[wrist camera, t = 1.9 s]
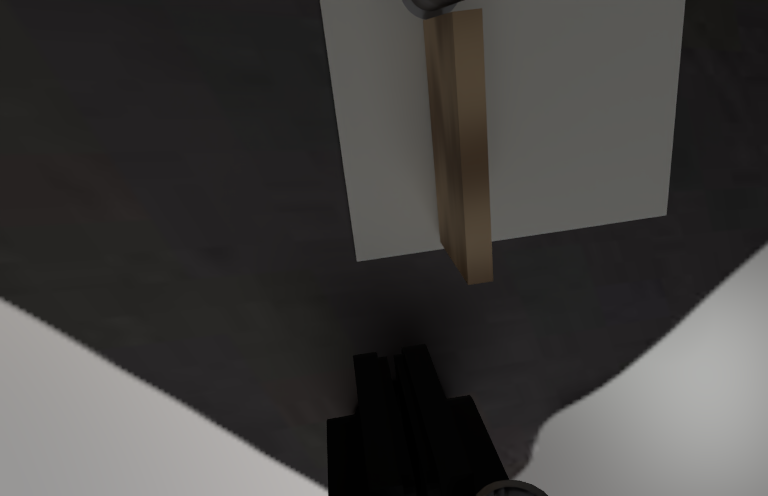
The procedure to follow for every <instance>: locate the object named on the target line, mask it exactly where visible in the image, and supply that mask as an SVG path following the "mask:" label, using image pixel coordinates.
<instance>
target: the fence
mask: <svg viewBox="0 0 768 496" xmlns="http://www.w3.org/2000/svg"><path fill="white" fill-rule="evenodd" d="M461 1H464V0H412V2H413V3H414V4H415V5H416V6H417V7H418V8H420V9H422V10H426V11H435V10H438V9H441V8H444V7H447V6H450V5H452V4H455V3H458V2H461Z"/></svg>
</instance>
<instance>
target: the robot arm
mask: <svg viewBox="0 0 768 496" xmlns="http://www.w3.org/2000/svg"><path fill="white" fill-rule="evenodd" d="M353 359H354V367H355V376H356V385H357V393H358V402H359V410H360V414H356V415H350V416H344V417H338V418H333V419H327V454H328V496H548V495H547V494H546V493H545V492H544V491H542V490H541V489H539V488H537V487H536V486H534V485H532V484H529V483H526V482H522V481H517V480H509V478H508V476H507V474H506V472H505V470H504V467H503V465H502V463H501V461H500V458H499V456H498V454H497V452H496V450H495V447H494V445H493V443H492V441H491V439H490V436H489V434H488V432H487V430H486V427H485V425H484V423H483V421H482V419H481V416H480V414H479V412H478V410H477V408H476V405H475V403H474V401H473V399H472V397H471V396H470V395H467V396H462V397H456V398H450V399H446V397H445V395H444V392H443V389H442V387H441V384H440V381H439V379H438V376H437V373H436V371H435V368H434V365H433V363H432V360H431V357H430V355H429V352H428V349H427V347H426V345H425V344H422V345H416V346H410V347H403V348H402V354H400V355H394V363H395V371H396V379H397V387H398V395H399V404H400V412H401V418H400V413H399V409H398V405H397V400H396V396H395V391H394V387H393V383H392V378H391V374H390V370H389V365H388V361H387V357H381V358H377V353H376V352H373V353H366V354H360V355H354V356H353ZM401 420H402V422H401Z"/></svg>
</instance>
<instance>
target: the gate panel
mask: <svg viewBox="0 0 768 496" xmlns="http://www.w3.org/2000/svg"><path fill="white" fill-rule="evenodd" d="M423 28H424V41H425V54H426V66H427V79H428V92H429V105H430V118H431V130H432V143H433V156H434V169H435V182H436V195H437V207H438V220H439V233H440V243H441V244H442V246H443V247H444V249H445V250H446V252H447V253H448V255H449V256H450V258H451V259H452V261H453V262H454V264H455V265H456V267H457V268H458V270H459V271H460V273H461V274H462V276H463V278H464V279H465V281H466V282H467V284H468V285H471V284H478V283H484V282H490V281H493V265H492V240H491V215H490V190H489V165H488V140H487V115H486V90H485V65H484V40H483V15H482V8H479V9H471V10H462V11H454V12H450V13H446V14H443V15H440V16H436V17H433V18H430V19H427V20H423Z"/></svg>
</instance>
